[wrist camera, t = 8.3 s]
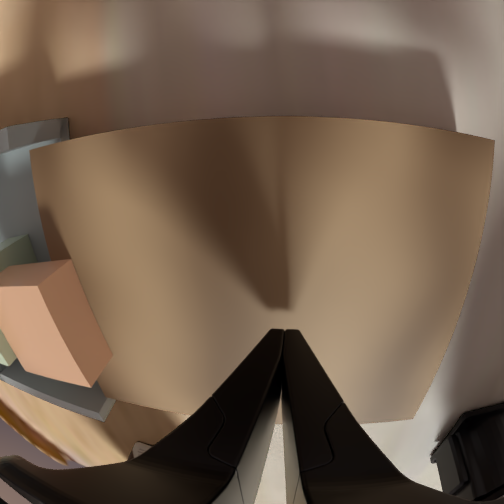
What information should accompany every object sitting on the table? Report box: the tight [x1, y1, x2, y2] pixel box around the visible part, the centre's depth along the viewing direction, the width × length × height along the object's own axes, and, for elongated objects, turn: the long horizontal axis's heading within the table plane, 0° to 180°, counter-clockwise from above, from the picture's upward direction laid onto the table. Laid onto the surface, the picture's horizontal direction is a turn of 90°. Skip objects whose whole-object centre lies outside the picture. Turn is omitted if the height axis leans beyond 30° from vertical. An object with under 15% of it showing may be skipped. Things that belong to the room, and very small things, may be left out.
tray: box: [0, 118, 116, 422], centre depth 12 cm, size 9×14×4 cm
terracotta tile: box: [0, 259, 113, 388], centre depth 10 cm, size 4×4×2 cm
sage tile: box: [0, 234, 38, 366], centre depth 11 cm, size 4×4×2 cm
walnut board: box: [29, 116, 495, 424], centre depth 11 cm, size 15×12×2 cm
